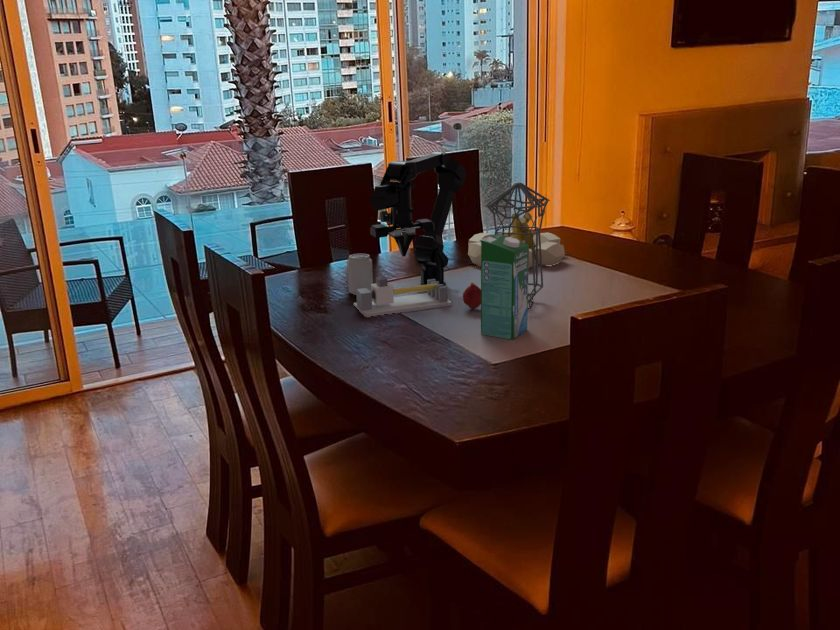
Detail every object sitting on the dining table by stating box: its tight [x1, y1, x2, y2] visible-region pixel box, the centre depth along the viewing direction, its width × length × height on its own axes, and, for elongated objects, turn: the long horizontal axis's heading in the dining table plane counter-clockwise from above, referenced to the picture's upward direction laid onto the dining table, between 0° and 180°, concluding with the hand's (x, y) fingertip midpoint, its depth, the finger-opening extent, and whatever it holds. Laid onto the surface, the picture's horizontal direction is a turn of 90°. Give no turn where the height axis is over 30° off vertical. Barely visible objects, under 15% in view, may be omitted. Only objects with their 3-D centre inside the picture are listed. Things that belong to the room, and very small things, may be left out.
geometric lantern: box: [485, 182, 551, 307], centre depth 215 cm, size 16×16×35 cm
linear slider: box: [353, 279, 453, 318], centre depth 220 cm, size 26×12×6 cm, turn 111°
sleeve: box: [371, 276, 395, 305], centre depth 217 cm, size 5×5×7 cm
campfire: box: [467, 212, 566, 269], centre depth 269 cm, size 35×34×17 cm
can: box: [347, 253, 374, 296], centre depth 233 cm, size 8×8×12 cm
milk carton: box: [480, 233, 530, 341], centre depth 193 cm, size 9×9×25 cm
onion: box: [462, 281, 481, 311], centre depth 215 cm, size 6×6×8 cm
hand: (403, 256), depth 229 cm, fingers closed
